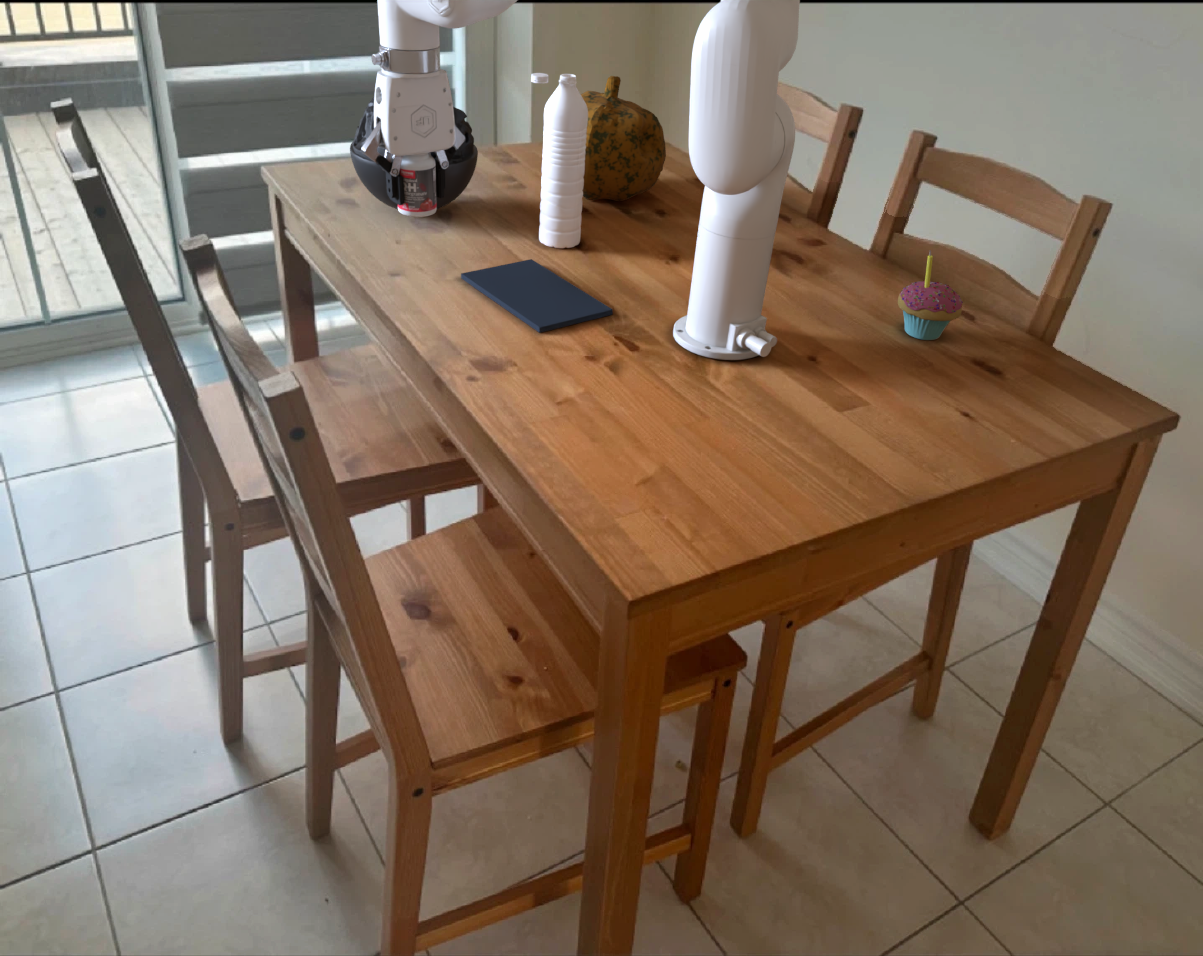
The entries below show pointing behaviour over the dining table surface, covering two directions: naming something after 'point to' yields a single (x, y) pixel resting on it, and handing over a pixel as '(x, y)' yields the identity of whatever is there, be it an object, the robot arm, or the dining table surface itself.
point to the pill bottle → (418, 185)
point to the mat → (536, 295)
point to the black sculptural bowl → (458, 166)
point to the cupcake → (928, 306)
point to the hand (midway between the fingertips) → (416, 197)
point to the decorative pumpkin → (620, 146)
